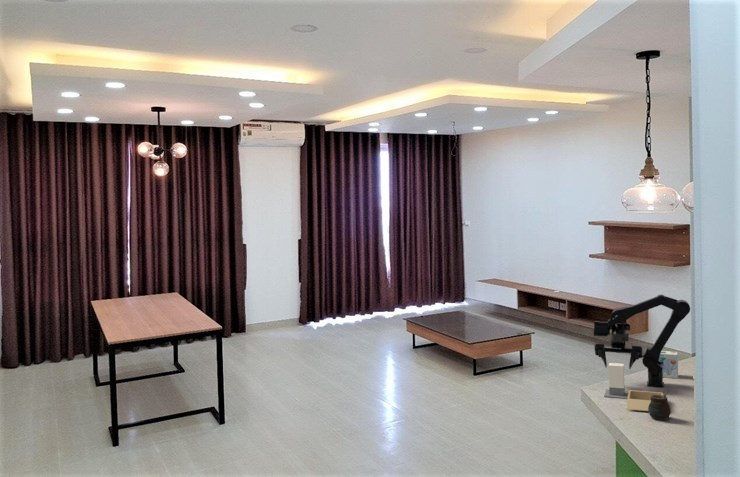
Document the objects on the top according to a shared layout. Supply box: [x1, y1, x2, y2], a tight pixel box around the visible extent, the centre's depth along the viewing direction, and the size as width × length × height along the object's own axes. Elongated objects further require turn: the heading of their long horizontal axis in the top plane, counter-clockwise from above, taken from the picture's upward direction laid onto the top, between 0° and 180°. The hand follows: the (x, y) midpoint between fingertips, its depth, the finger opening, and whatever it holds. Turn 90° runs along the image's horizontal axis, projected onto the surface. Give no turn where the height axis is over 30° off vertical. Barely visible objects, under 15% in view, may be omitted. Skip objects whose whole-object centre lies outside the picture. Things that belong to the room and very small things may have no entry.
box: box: [608, 362, 626, 396], centre depth 249 cm, size 4×6×12 cm
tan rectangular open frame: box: [626, 389, 664, 412], centre depth 235 cm, size 19×12×4 cm, turn 154°
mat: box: [603, 389, 629, 400], centre depth 249 cm, size 10×9×1 cm
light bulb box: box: [658, 350, 679, 379], centre depth 275 cm, size 11×7×11 cm, turn 62°
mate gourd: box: [647, 389, 672, 421], centre depth 219 cm, size 7×8×10 cm
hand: (617, 367), depth 255 cm, fingers open, 9 cm apart
